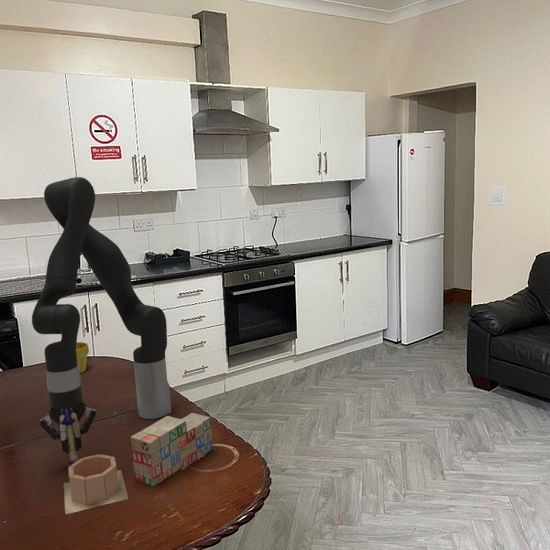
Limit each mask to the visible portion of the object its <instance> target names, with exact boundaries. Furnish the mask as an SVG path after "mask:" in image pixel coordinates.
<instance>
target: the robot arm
mask: <svg viewBox="0 0 550 550" xmlns="http://www.w3.org/2000/svg"><path fill="white" fill-rule="evenodd" d="M43 197H44V198H43V199H44V202H45V205H46V207H47V210H48V211H49V212H50V214H51V215H52V216H53V218H54V219H55V220H56V222H57V223H58V224H59V225H60V226H61V228H62V229H63V231H62V232H61V235H60V237H59V239H58V240H57V242H56V244H55V245H54V247H53V248H52V251H51V252H50V254H49V255H50V256H49V258H48V261H47V266H46V273H45V279H44V280H45V281H44V286H43V288H42V291H41V293H40V294H39V295H40V296H39V297H38V299H37V302H36V304H35V306H34V309H33V311H32V315H31V326H32V328H33V329H34V331H35V332H36V333H38V334H39V335H61V339H60V340H59V341H55V342H51V343H49V344H48V345H46V346H45V348H44V359H45V369H46V388H47V393H48V399H49V400H48V401H49V410H48V414H47V415H46V416H43V417H40V419H39V425H40V427H42V428H41V429H43V430H44V431H45V432H46V433H47V434H48V436H49V437H51V439H52V440H53V441H56V440H59V441H61V448H62V449H61V450H62V452H63V453H65V454H66V455H68V454H69V448H68V445H69V444H68V438H67V432H66V426H68V425H72V426H73V429H74V430H73V432H74V438H75V444H76V451H77V453H78V452H80V450H81V449H82V447H83V444H82V435H84V434H87V433H88V432H89V430H90V429H91V425H92V424H93V422H94V421H95V417H96V416H97V411H96V408H95V407H91V408H90V407H88V406H87V405H86V404H85V403H84V397H83V390H82V379H81V373H80V372H79V369H78V363H77V355H76V343H77V341H78V334H79V331H80V330H79V328H80V323H81V314H80V311H79V309H78V308H77V306H75V305H73V304H70V303H59V304H58V302H59V301H60V300H61V299H63V298H66V297H70V296H72V295H74V294H75V292H76V290H77V281H78V273H79V263H80V258H81V255H82V257H83V258H84V260H85V261H86V262H87V264H88V267H89V268H90V269H91V271H92V273H93V274H94V275H95V277H96V279H97V280H98V282H99V283H100V284H101V286H102V287H103V289H104V291H105V292H106V294H107V295H108V296H109V298H110V299H111V302H112V303H113V305H114V306H115V308H116V310H117V313H118V314H119V316H120V319H121V321H122V323H123V325H124V327H125V328H126V330H127V331H128V332H129V333H130V334H133V335H134V336H138V337H140V346H139V347H136V348H135V349H134V350H133V353H132V357H133V368H134V379H135V380H134V381H135V389H136V403H137V410H138V411H137V412H138V417H140V418H142V419H147V420H154V419H159V418H162V417H163V418H164V417H166V416H168V415H169V414H172V405H171V393H170V390H171V389H170V383H169V381H168V374H167V360H166V352H167V346H168V333H167V331H168V329H167V328H168V327H167V325H168V324H167V317H166V314H165V312H164V311H163V309H161V308H160V307H157V306H154V305H153V306H152V305H148V304H145V303H143V302H142V300H141V299H140V297H139V296H138V295H137V293H136V291H135V290H134V288H133V284H132V271H131V267H130V264H129V263H128V260H127V259H126V257H125V255H124V253H123V252H122V251H121V249H120V247H119V246H118V245H117V244H116V243H115V242H114V241H113V240H111V238H109V237H107V236H106V235H105V234H103V233H102V232H100V231H99V230H97V229H96V228H95V227H94V226H92V225H91V224H90V221H91V219H92V215H93V213H94V208H95V204H96V192H95V188H94V186H93V185H92V183H91V182H90V181H89V180H88V179H87V178H84V177H81V176H76V177H70V178H66V179H61V180H59V181H54V182H51V183H49V184H48V185H46V187H45V189H44V193H43ZM67 408H72V410H73V412H72V414H71V417H72V419H75V422H74V423H72V424H68V425H61V422H62V421H63V419H64V417H65V415H63V414H61V415H60V412H61V409H67ZM84 414H85V416H86V418H85V421H84V422H83V425H82V426H81V427H80V424H79V423H80V421H81V419H82V417H83V416H84ZM59 418H60V424H59ZM51 420H52V421H53V422H55V424H57V425H58V426H59V428H60V429H59V430H60V431H57V430H56V429H55V427H54V426H53V425H52V424H51V423H52V421H51Z"/></svg>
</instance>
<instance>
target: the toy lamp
mask: <svg viewBox="0 0 550 550" xmlns="http://www.w3.org/2000/svg"><path fill="white" fill-rule="evenodd" d="M72 412H73V410H72V408H67V409H61V412H60V415H61V414H63V415H65V417H64V419H63V421H62V422H61V425H68V424H72V423H74V422H75V419H72V417H71V414H72ZM59 424H60V418H59ZM66 436H67V439H68V448H69V453H68V454H69V461H68V462H67V467H69V466H71V465H72V464H74V463H75V462H77V461H78V460H79V459H80V458H79V457H78V455H77V454H78V452H77V451H76V443H75V431H74V427H73V425H68V426H66Z"/></svg>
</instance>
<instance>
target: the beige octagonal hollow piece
mask: <svg viewBox="0 0 550 550" xmlns="http://www.w3.org/2000/svg"><path fill="white" fill-rule="evenodd" d="M78 459H79V460H78V461H77V462H75V463H74V464H72V465H71V466H67V468H68V469H67V470H68V479H69V482H70V489H71V497H72V501H73V502H77V503H81V504H85V505H89V504H93V503H97V502H101V501H105V500H108V499H109V498H110V497H111V496H112V495H114V494H115V493H116V492H117V491H118V490H119V486H118V476H117V471H118V469H117V463H116V458H115V456H113V455H111V456H110V455H106V454H101V453H100V454H95V455H94V454H93V455H90V456H84V457H82V458H78Z"/></svg>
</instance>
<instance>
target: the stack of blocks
mask: <svg viewBox="0 0 550 550" xmlns="http://www.w3.org/2000/svg"><path fill="white" fill-rule="evenodd" d="M130 442H131V456H132V462H133V471H134V474H133V475H134V480H135V481H138V482H142V483H144V484H146V485H147V484H148V485H149V486H152V487H155V486H156V485H158V484H160V483H162V482H163V481H165V480H166V479H167V478H168V477H170V476H171V475H173V474H174V473H176V472H178V471H179V470H180V469H181V470H182V471H183V470H184V469H185V468H186V467H187V466H189V465H190V464H192V463H193V462H195V461H196V460H198V459H199V460H201V459H202V458H203V457H205V456H207V455H208V454H209V453H211V452H212V451H213V449H214V447H213V432H212V425H211V417H210V416H206V415H203V414H198V413H194V412H191V413H190V414H188V415H186V416H184V417H183V418H176V417H174V416H170V415H165V416H163V418H161V419H160V420H157V421H156V422H154V423H152V424H151V425H149V426H148V427H145V428H144V429H142V430H141V431H138V432H136V433H134V434H132V435H131V436H130ZM211 450H212V451H211ZM210 451H211V452H210ZM208 452H209V453H208ZM207 453H208V454H207ZM204 455H205V456H204ZM201 457H202V458H201ZM200 458H201V459H200ZM199 460H198V461H199ZM196 462H197V461H196ZM196 462H195V463H196ZM193 464H194V463H193ZM193 464H192V465H193ZM189 467H190V466H189ZM186 469H187V468H186ZM186 469H185V470H186ZM185 470H184V471H185Z"/></svg>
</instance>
